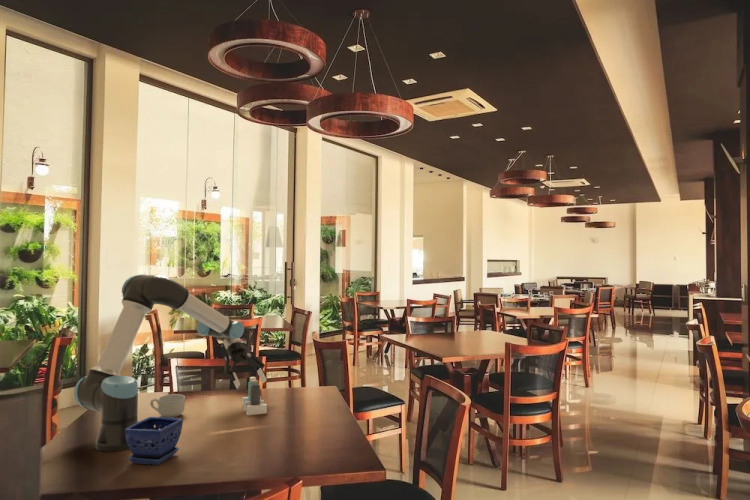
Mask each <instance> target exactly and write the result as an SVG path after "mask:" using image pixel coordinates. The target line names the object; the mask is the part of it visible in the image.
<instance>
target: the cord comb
mask: <svg viewBox="0 0 750 500" xmlns="http://www.w3.org/2000/svg"><path fill="white" fill-rule="evenodd" d="M264 401H265V400H264V399H262V396H261V395H260V405H251V401H248V396H246V397H245V396H243V397H242V401H241V402H242V404H241V405H242V407H243V409H244V412H245V413H246V415H247V416H254V415H255V416H256V415H262V414H263V415H264V414H267V413H268V412H267V411H268V410H267V409H268V406H267V405H268V404H267V403H265V402H264Z"/></svg>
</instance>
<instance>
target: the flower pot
mask: <svg viewBox="0 0 750 500" xmlns="http://www.w3.org/2000/svg"><path fill="white" fill-rule="evenodd" d="M183 423H184V422H183V419H182V418H177V417H174V418H164V417H163V416H148V417H147V418H144V419H142V420H140V421H138V423H136V424H134V425H132V426H130V427H128V428H126V429H125V436H126V441H127V444H128V446H129V449H128V450H130V452H131V454H132V455H130V456H128V458H127V459H128V460H129V461H130V462H131V463H134V464H142V465H151V464H152V466H158V465H160V464H162V463H164V462H166V461H167V460H168V459H170V458H172V457H173V456H174V455H175V454H177V452H178V451H179V448H180V447H176V446H177V445H178V442H179V439H180V437H181V434H182V429H183ZM137 440H138V441H137Z"/></svg>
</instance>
